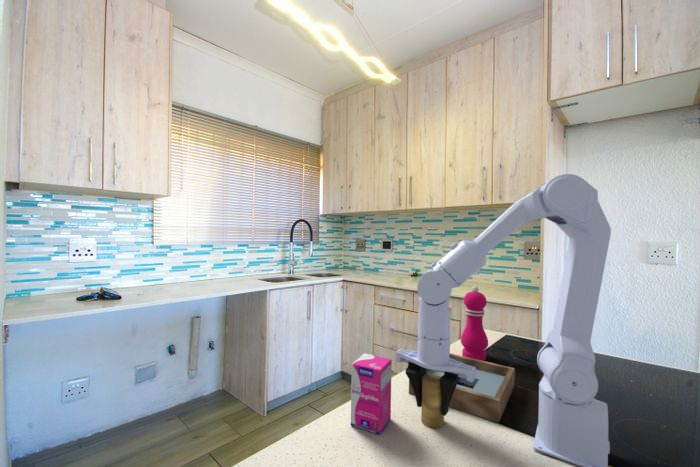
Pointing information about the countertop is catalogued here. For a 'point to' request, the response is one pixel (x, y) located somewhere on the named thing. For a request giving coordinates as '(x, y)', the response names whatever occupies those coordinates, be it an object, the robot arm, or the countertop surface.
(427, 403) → the peg
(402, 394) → the countertop surface
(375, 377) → the supplement box
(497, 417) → the tray
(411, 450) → the countertop surface
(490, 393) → the bore plate
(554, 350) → the robot arm
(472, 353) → the pepper mill
